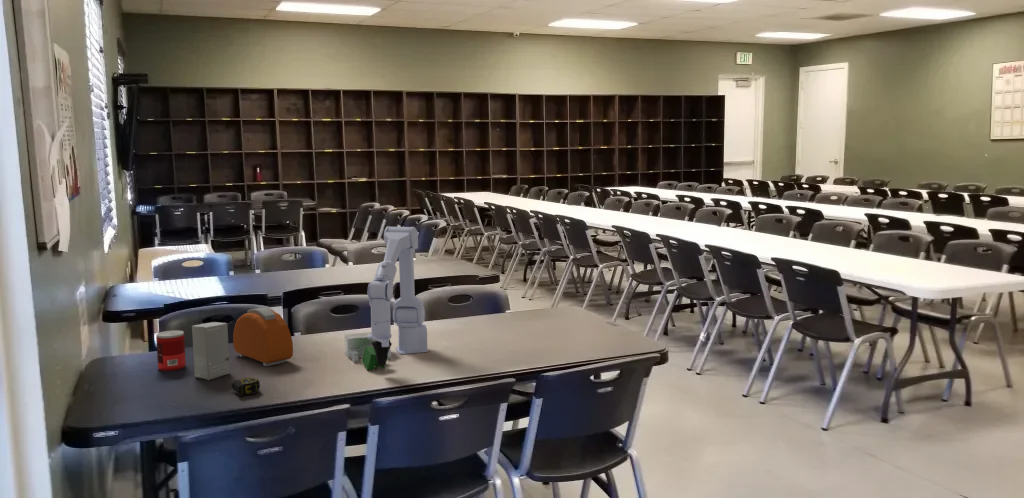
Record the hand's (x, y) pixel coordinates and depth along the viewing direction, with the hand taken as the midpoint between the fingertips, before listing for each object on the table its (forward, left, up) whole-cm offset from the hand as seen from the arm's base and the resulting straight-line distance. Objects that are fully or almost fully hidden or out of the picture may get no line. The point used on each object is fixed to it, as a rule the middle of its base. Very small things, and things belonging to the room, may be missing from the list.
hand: (381, 364), depth 227 cm
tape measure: (+39, +4, -4) cm, 40 cm away
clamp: (0, -11, -4) cm, 11 cm away
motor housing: (0, -23, -3) cm, 23 cm away
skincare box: (+48, -17, -4) cm, 51 cm away
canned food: (+60, -30, -4) cm, 67 cm away
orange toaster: (+33, -31, -4) cm, 45 cm away
